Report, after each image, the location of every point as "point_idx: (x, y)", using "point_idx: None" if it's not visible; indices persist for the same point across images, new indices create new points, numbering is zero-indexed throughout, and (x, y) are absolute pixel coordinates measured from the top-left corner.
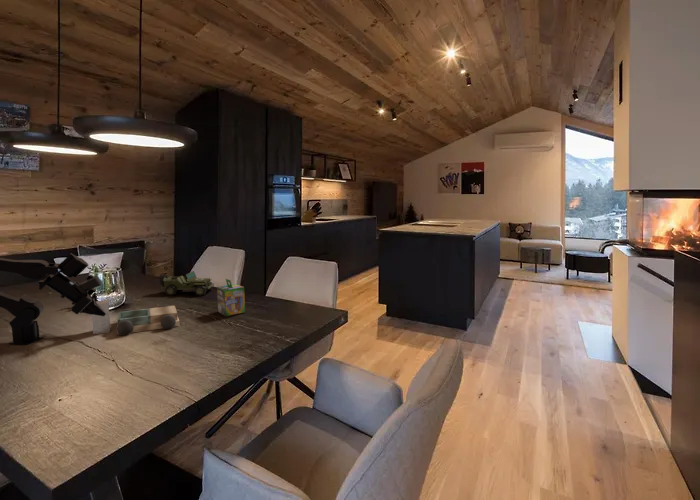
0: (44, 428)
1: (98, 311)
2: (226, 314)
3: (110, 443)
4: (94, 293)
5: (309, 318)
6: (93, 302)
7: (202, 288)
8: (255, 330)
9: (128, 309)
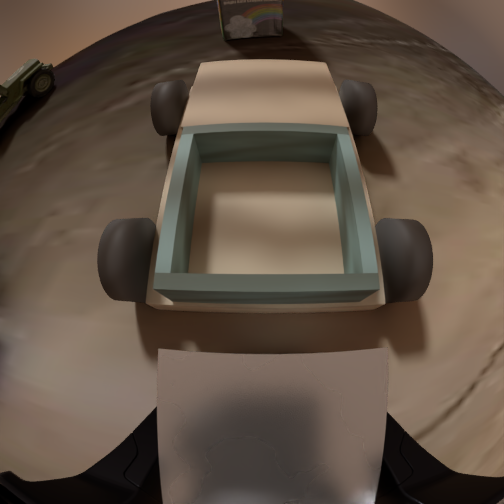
0: None
1: None
2: (282, 31)
3: None
4: (6, 484)
5: (348, 5)
6: (480, 480)
7: (45, 72)
8: (400, 43)
9: (111, 228)
